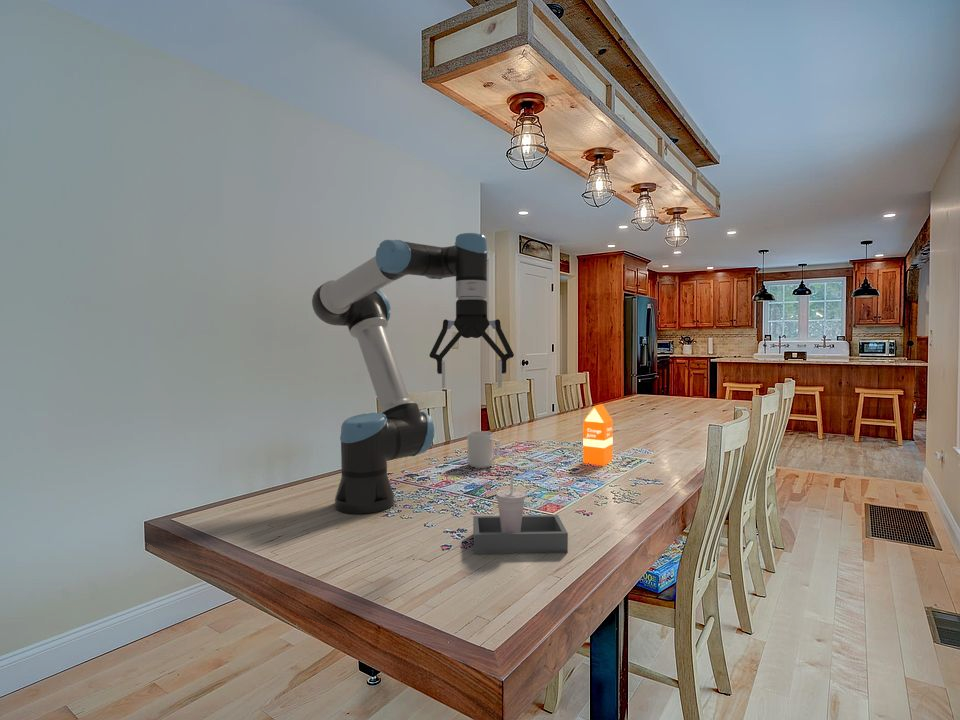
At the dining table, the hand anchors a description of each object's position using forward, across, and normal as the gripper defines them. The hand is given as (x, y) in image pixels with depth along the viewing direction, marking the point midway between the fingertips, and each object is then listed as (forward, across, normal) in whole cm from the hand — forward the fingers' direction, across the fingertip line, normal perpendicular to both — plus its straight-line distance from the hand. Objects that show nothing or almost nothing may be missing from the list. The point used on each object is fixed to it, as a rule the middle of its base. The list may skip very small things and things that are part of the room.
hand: (471, 387), depth 128 cm
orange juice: (+32, +45, +54) cm, 77 cm away
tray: (+32, +10, -17) cm, 37 cm away
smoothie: (+31, +8, -17) cm, 36 cm away
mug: (+32, +5, +49) cm, 59 cm away
